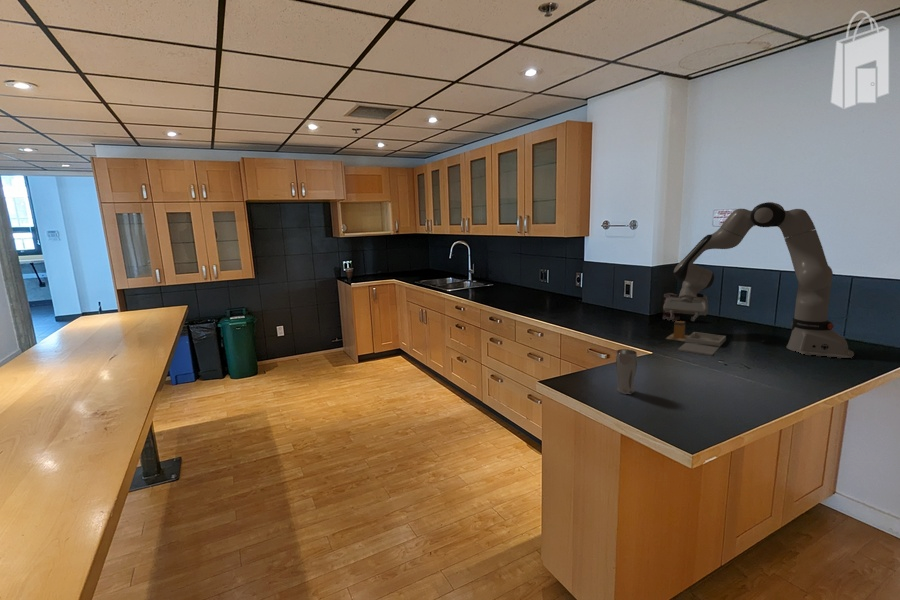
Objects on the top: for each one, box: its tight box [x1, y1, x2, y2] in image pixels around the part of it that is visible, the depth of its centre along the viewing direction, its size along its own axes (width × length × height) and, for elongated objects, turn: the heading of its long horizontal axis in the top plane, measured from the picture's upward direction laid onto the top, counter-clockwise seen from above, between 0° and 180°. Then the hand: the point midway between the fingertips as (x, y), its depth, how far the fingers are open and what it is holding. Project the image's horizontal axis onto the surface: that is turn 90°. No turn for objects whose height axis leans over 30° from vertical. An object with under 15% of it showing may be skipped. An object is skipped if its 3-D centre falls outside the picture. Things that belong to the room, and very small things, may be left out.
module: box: [673, 320, 686, 339], centre depth 212 cm, size 4×4×8 cm
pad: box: [665, 332, 690, 343], centre depth 213 cm, size 9×12×1 cm
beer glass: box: [615, 348, 638, 394], centre depth 151 cm, size 7×7×15 cm
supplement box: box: [662, 292, 681, 322], centre depth 250 cm, size 9×5×16 cm, turn 25°
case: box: [677, 331, 727, 357], centre depth 200 cm, size 14×28×3 cm, turn 137°
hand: (682, 319), depth 213 cm, fingers open, 8 cm apart
